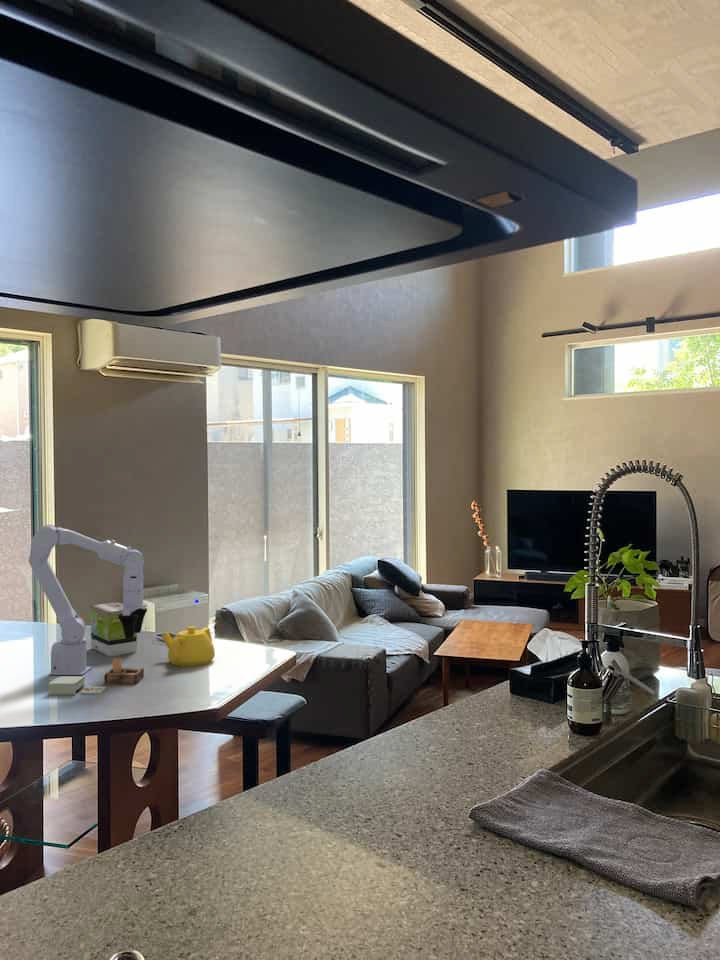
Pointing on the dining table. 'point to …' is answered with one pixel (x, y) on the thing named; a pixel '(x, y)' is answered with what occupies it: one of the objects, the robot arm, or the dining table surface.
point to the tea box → (110, 630)
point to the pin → (117, 665)
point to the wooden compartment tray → (124, 676)
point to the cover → (66, 685)
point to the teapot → (190, 647)
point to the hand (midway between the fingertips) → (133, 635)
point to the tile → (93, 690)
